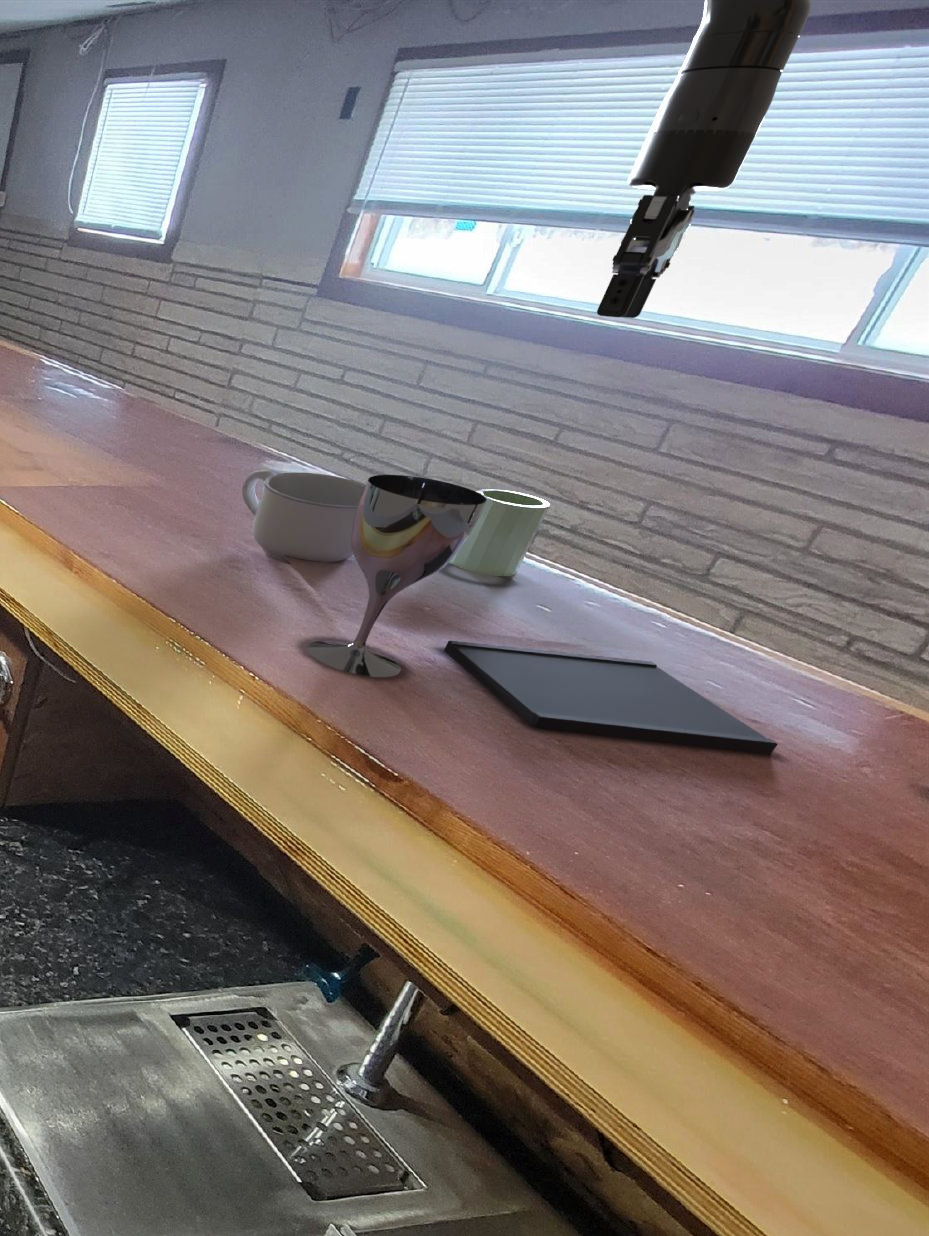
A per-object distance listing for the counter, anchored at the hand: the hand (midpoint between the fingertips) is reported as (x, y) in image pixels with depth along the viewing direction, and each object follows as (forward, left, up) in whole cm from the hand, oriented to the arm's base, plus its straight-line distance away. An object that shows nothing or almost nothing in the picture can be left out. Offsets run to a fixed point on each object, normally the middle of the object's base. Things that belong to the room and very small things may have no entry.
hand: (616, 317), depth 100 cm
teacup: (+25, +7, -25) cm, 36 cm away
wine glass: (+29, +35, -25) cm, 52 cm away
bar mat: (+12, +38, -25) cm, 47 cm away
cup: (+7, +9, -25) cm, 28 cm away
